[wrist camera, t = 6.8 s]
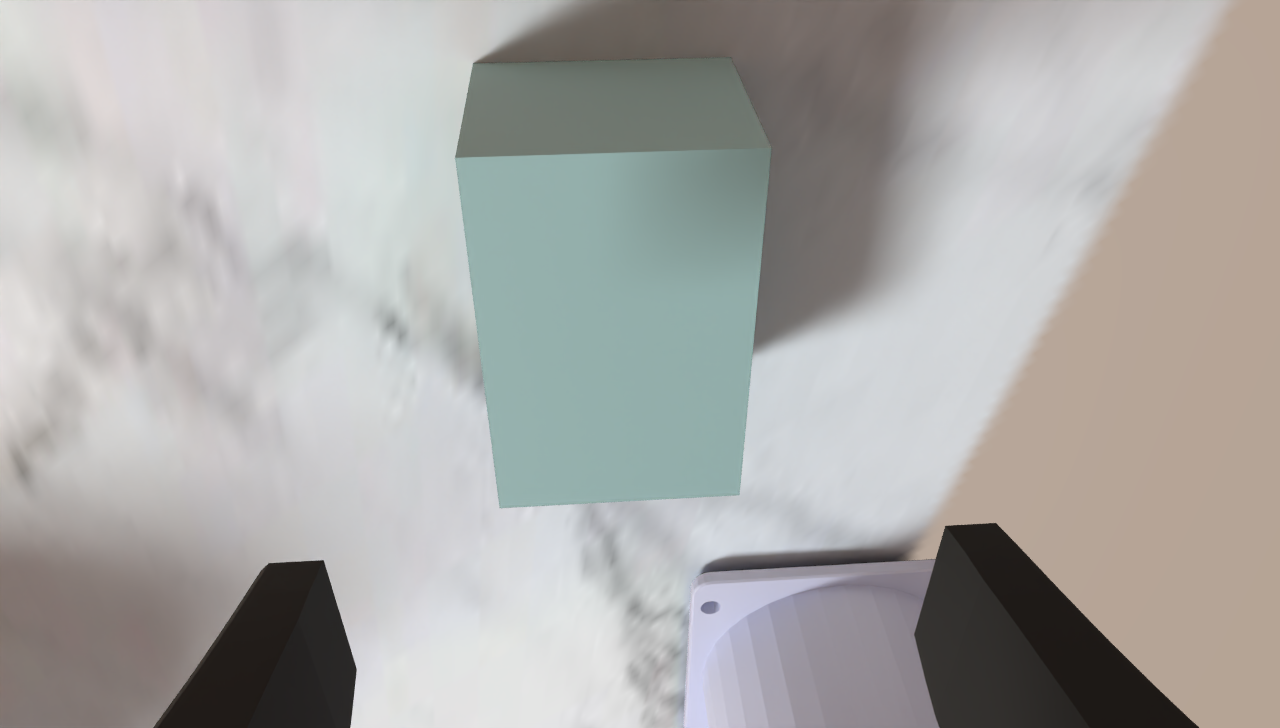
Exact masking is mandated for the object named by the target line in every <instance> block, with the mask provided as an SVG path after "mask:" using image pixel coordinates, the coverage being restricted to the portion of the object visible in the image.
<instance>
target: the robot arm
mask: <svg viewBox="0 0 1280 728" xmlns="http://www.w3.org/2000/svg"><path fill="white" fill-rule="evenodd" d="M709 601H711V602H709ZM356 670H357V669H356V666H355V662H354V659H353V656H352V652H351V649H350V646H349V642H348V639H347V636H346V633H345V629H344V626H343V623H342V619H341V616H340V613H339V610H338V606H337V603H336V600H335V596H334V593H333V590H332V586H331V583H330V580H329V577H328V573H327V570H326V567H325V563H324V560H321V561H303V562H285V563H269V564H268V565H267V566H266V567H265V568H263V569H262V570H261V572H260V573H259V575H258V576H257V578H256V579H255V581H254V582H253V584H252V586H251V587H250V589H249V590H248V592H247V593H246V595H245V596H244V598H243V599H242V601H241V602H240V604H239V605H238V607H237V608H236V610H235V612H234V613H233V615H232V616H231V618H230V619H229V621H228V622H227V624H226V625H225V627H224V628H223V630H222V631H221V633H220V634H219V636H218V637H217V639H216V640H215V642H214V643H213V644H212V646H211V647H210V649H209V650H208V652H207V653H206V655H205V656H204V658H203V659H202V660H201V662H200V663H199V665H198V666H197V668H196V669H195V671H194V672H193V674H192V675H191V676H190V678H189V679H188V681H187V682H186V683H185V685H184V686H183V688H182V689H181V690H180V692H179V693H178V694H177V696H176V697H175V699H174V700H173V701H172V703H171V704H170V705H169V707H168V708H167V710H166V711H165V712H164V714H163V715H162V717H161V718H160V719H159V721H158V722H157V723H156V725H155V726H154V728H350V725H351V717H352V708H353V699H354V689H355V680H356ZM683 728H1199V727H1198V726H1197V725H1196V724H1195V723H1193V722H1192V721H1191V720H1190V719H1189V718H1188V717H1187V716H1186V715H1185V714H1184V713H1183V712H1182V711H1181V710H1180V709H1179V708H1177V707H1176V706H1175V705H1174V704H1173V703H1172V702H1171V701H1170V700H1169V699H1168V698H1167V697H1166V696H1165V695H1164V694H1163V693H1162V692H1160V690H1159V689H1157V688H1156V687H1155V686H1154V685H1153V684H1152V683H1151V682H1150V681H1149V680H1148V679H1147V678H1146V677H1145V676H1144V675H1143V674H1142V673H1141V672H1140V671H1139V670H1138V669H1137V668H1136V667H1135V666H1134V665H1133V664H1132V663H1131V662H1130V661H1129V660H1128V659H1127V658H1126V657H1125V656H1124V655H1123V654H1122V653H1121V652H1120V651H1119V650H1118V649H1117V648H1116V647H1115V646H1114V645H1113V644H1112V643H1111V642H1110V641H1109V640H1108V639H1107V638H1106V637H1105V636H1104V635H1103V634H1102V633H1101V632H1100V631H1099V630H1098V629H1097V628H1096V627H1095V626H1094V625H1093V624H1092V623H1091V622H1090V621H1089V620H1088V619H1087V618H1086V617H1085V616H1084V615H1083V614H1082V613H1081V611H1080V610H1079V609H1078V608H1077V607H1076V606H1075V605H1074V604H1073V603H1072V602H1071V601H1070V600H1069V599H1068V598H1067V597H1066V596H1065V595H1064V594H1063V593H1062V592H1061V591H1060V590H1059V589H1058V587H1056V585H1055V584H1054V583H1053V582H1052V581H1051V580H1050V579H1049V578H1048V577H1047V576H1046V575H1045V574H1044V573H1043V572H1042V571H1041V570H1040V569H1039V567H1038V566H1036V564H1035V563H1034V562H1033V561H1032V560H1031V559H1030V558H1029V557H1028V556H1027V555H1026V554H1025V553H1024V552H1023V551H1022V550H1021V549H1020V547H1019V546H1018V545H1017V544H1016V543H1015V542H1014V541H1013V540H1012V539H1011V538H1010V537H1009V536H1008V535H1007V534H1006V533H1005V532H1004V531H1003V530H1002V529H1001V528H1000V527H999V526H998V525H997V524H996V523H989V524H973V525H953V526H945V529H944V533H943V536H942V540H941V543H940V547H939V550H938V553H937V557H936V559H930V560H912V561H894V562H877V563H859V564H842V565H824V566H807V567H789V568H771V569H754V570H736V571H719V572H708V573H703V574H701V575H699V576H697V577H696V578H695V579H694V580H693V581H692V584H691V593H690V612H689V630H688V649H687V668H686V686H685V705H684V723H683Z"/></svg>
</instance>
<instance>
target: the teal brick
mask: <svg viewBox="0 0 1280 728" xmlns="http://www.w3.org/2000/svg"><path fill="white" fill-rule="evenodd" d="M771 150H772V147H771V145H770V143H769V141H768V139H767V136H766V134H765V132H764V130H763V128H762V125H761V123H760V121H759V119H758V117H757V114H756V112H755V110H754V108H753V106H752V103H751V101H750V99H749V97H748V95H747V92H746V90H745V88H744V86H743V84H742V81H741V79H740V77H739V75H738V73H737V70H736V68H735V66H734V64H733V62H732V59H731V57H721V58H679V59H637V60H595V61H553V62H510V63H473V67H472V72H471V77H470V83H469V88H468V93H467V98H466V104H465V109H464V114H463V120H462V125H461V130H460V135H459V141H458V146H457V151H456V157H455V160H456V168H457V175H458V183H459V191H460V199H461V207H462V215H463V223H464V231H465V238H466V246H467V254H468V262H469V270H470V278H471V286H472V294H473V301H474V309H475V317H476V325H477V333H478V341H479V349H480V357H481V365H482V372H483V380H484V388H485V396H486V404H487V412H488V420H489V428H490V435H491V443H492V451H493V459H494V467H495V475H496V483H497V491H498V498H499V506H500V508H512V507H531V506H549V505H567V504H586V503H604V502H623V501H641V500H659V499H678V498H696V497H714V496H733V495H739V494H740V483H741V472H742V462H743V451H744V440H745V429H746V419H747V408H748V397H749V387H750V376H751V365H752V354H753V344H754V333H755V322H756V311H757V301H758V290H759V279H760V268H761V258H762V247H763V236H764V225H765V215H766V204H767V193H768V182H769V172H770V161H771Z"/></svg>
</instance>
